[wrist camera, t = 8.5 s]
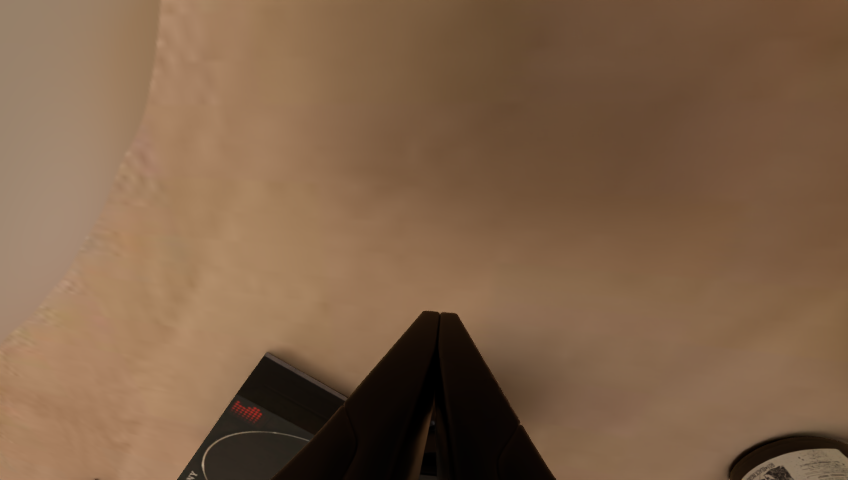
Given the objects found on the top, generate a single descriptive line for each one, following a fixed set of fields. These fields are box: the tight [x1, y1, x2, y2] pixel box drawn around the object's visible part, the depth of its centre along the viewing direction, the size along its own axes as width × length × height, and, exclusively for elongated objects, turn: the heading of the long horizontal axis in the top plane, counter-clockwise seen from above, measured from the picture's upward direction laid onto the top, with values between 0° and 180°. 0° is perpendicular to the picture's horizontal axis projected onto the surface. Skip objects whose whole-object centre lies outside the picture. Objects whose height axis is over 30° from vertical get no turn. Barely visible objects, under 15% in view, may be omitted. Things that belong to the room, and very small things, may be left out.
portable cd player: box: [177, 352, 348, 480], centre depth 29 cm, size 16×17×4 cm
